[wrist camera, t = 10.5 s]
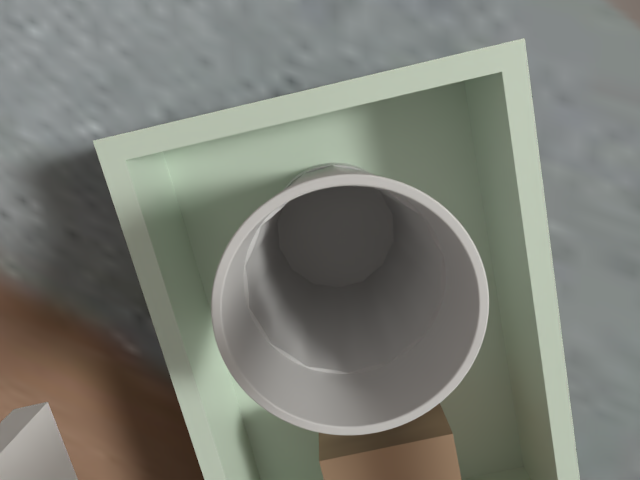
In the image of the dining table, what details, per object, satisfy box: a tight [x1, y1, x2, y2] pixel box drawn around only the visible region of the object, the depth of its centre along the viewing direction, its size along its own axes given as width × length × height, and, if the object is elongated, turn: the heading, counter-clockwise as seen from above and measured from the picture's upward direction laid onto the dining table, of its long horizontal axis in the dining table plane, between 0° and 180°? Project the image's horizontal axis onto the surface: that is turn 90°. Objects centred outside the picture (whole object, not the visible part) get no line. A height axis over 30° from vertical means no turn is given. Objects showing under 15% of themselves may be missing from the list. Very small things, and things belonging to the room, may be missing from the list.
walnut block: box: [319, 403, 462, 480], centre depth 26 cm, size 6×6×6 cm
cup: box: [211, 163, 489, 435], centre depth 21 cm, size 8×8×12 cm
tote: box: [93, 38, 580, 480], centre depth 26 cm, size 17×24×6 cm
